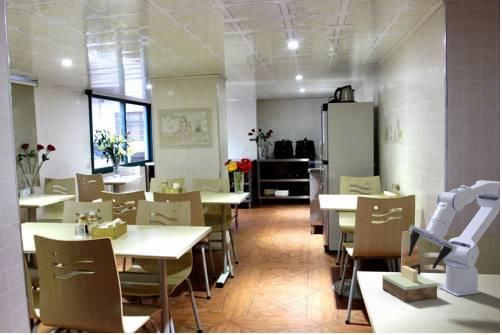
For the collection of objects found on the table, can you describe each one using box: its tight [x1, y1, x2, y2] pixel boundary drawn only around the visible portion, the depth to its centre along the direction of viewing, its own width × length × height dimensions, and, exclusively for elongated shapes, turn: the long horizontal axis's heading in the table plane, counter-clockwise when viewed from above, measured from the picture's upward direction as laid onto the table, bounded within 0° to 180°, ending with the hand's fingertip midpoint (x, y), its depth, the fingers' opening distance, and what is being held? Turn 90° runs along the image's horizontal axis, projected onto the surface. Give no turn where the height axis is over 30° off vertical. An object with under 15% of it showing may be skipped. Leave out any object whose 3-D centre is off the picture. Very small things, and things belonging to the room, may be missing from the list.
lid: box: [382, 265, 438, 290], centre depth 135 cm, size 12×12×5 cm
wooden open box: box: [382, 277, 438, 303], centre depth 136 cm, size 12×12×4 cm
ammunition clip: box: [399, 244, 421, 275], centre depth 150 cm, size 11×2×12 cm, turn 128°
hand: (421, 261), depth 127 cm, fingers open, 7 cm apart
